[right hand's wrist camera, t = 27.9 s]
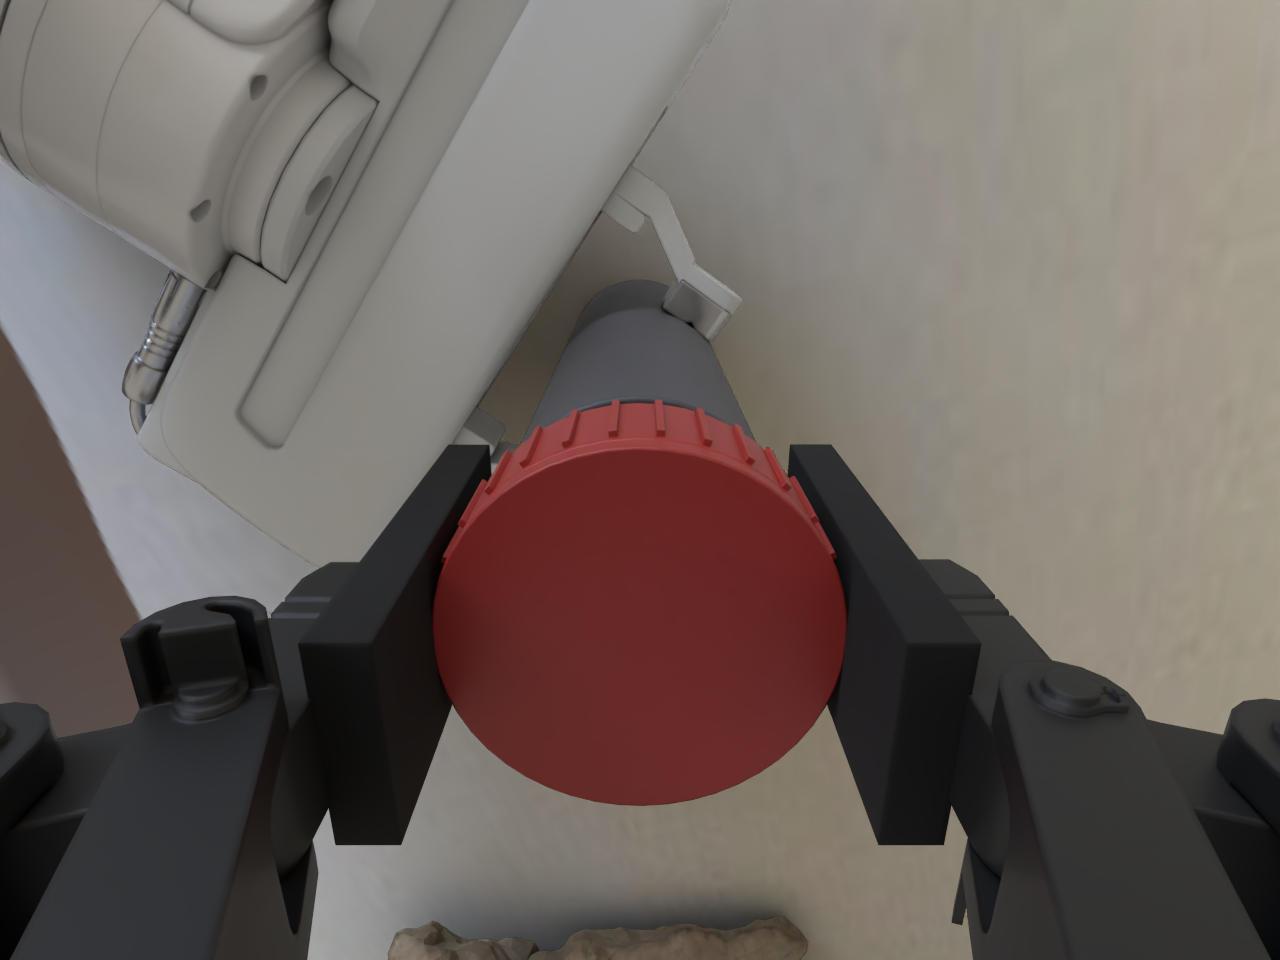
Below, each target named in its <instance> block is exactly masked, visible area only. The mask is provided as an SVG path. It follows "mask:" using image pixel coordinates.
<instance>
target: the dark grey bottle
mask: <svg viewBox="0 0 1280 960" xmlns="http://www.w3.org/2000/svg"><path fill="white" fill-rule="evenodd" d="M669 289H670V288H669V287H667V286H665V285H663V284H660V283H657V282H653V281H648V280H630V281H625V282H621V283H618V284H615V285H612V286H610V287H608V288H606V289H605V290H603V291H602V292H600V293H599V294H598V295H597V296H595V297H594V298H593V299H592V300H591V301H590V302H589V304H588V305H587V306H586V307H585V309H584V311H583V312H582V314H581V316H580V318H579V320H578V322H577V324H576V327H575V329H574V331H573V333H572V335H571V337H570V339H569V341H568V344H567V346H566V348H565V350H564V352H563V354H562V356H561V359H560V361H559V363H558V365H557V367H556V369H555V371H554V374H553V376H552V378H551V380H550V382H549V384H548V386H547V389H546V391H545V393H544V395H543V397H542V399H541V401H540V403H539V406H538V408H537V410H536V412H535V414H534V416H533V418H532V421H531V423H530V425H529V427H528V429H527V431H526V433H525V436H524V438H523V440H522V442H521V444H522V443H523V442H525V441H526V440H528V439H529V438H530V437H531V435H532V433H533V431H534V429H535V428H536V427H538V426H541V428H542V429H544V428H546V427H548V426H550V425H552V424H554V423H556V422H558V421H560V420H562V419H564V418H566V417H569V416H570V413H571V411H572V410H575V409H578V410H579V412H580V413H581V412H583V411H586V410H591V409H595V408H600V407H605V406H609V405H612V401H613V400H620V404H631V403H645V404H654V403H655V399H657V400H662V403H663V405H668V406H674V407H680V408H685V409H689V410H692V411H695V410H696V408H697V407H698V408H702V409H704V413H705V415H708V416H710V417H713V418H715V419H717V420H719V421H721V422H724V423H726V424H728V425H730V426H732V427H733V426H734V424H735V423H736V424H738V425H740V426H741V428H742V430H743V432H744V434H745V435H746V436H748V437H749V438H751V439H752V440H753V441H754V442H756V441H755V438H754V436H753V434H752V432H751V430H750V428H749V426H748V423H747V421H746V419H745V417H744V415H743V413H742V411H741V408H740V406H739V404H738V402H737V400H736V398H735V396H734V393H733V391H732V389H731V387H730V385H729V383H728V381H727V378H726V376H725V374H724V372H723V370H722V368H721V366H720V363H719V361H718V359H717V357H716V355H715V353H714V351H713V348H712V346H711V344H710V342H709V340H707V339H706V338H704V337H703V336H701V335H700V334H699V333H698V332H697V331H696V330H695V329H694V327H693V325H692V322H683V321H681V320H679V319H677V318H676V317H675V316H673V315H672V314H671V313H669V312H668V311H666V310H665V309H664V308H663V303H662V299H663V298H664V296H665V295H666V293H667V292H668V290H669ZM521 444H520V445H521Z"/></svg>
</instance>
